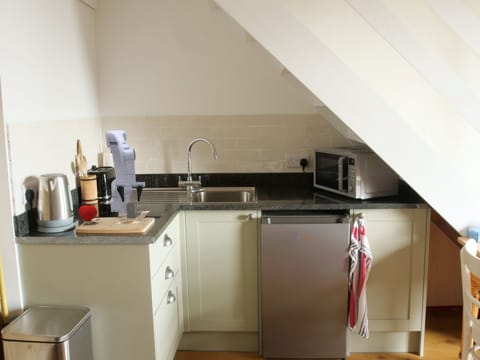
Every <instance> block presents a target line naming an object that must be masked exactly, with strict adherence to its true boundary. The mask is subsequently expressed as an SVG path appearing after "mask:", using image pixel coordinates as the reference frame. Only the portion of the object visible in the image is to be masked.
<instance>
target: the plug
mask: <svg viewBox="0 0 480 360" xmlns="http://www.w3.org/2000/svg"><path fill="white" fill-rule="evenodd" d="M126 209H127V211H126V212H127V218H136V217H137V216H138V213H137V211H138V208H137V202H131V201H130V203H127V204H126Z"/></svg>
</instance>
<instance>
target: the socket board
mask: <svg viewBox="0 0 480 360" xmlns="http://www.w3.org/2000/svg"><path fill="white" fill-rule="evenodd" d="M149 213H150V210H137V214H139V215H137V217H136V218H127V211H126V212H124V214H122V215H121V216H120V217H119V218H118V219H117V220H116V221H114V222H113V223H112V225H126V224H127V225H128V224H130V225H131V224H139V223H140V222H141V221H142V220H143V219H144V218H145V217H146V216H147V215H148V214H149ZM125 220H126V221H125Z"/></svg>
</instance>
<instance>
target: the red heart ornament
mask: <svg viewBox="0 0 480 360" xmlns="http://www.w3.org/2000/svg"><path fill="white" fill-rule="evenodd" d="M78 215H79V217H80V218H81V219H82V220H83V221H84V222H85V224H86V225H91V224H93V222H92V221H93V220H94V219H95V218H96V217H97V215H98V210H97V207H96V206H95V205H87V204H84V205H81V206H80V207H79V209H78Z"/></svg>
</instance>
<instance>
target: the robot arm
mask: <svg viewBox="0 0 480 360" xmlns="http://www.w3.org/2000/svg"><path fill="white" fill-rule="evenodd" d="M105 143H106V146H107V148H109V149H110V151H111V155H112V162H113V168H114V175H115V179H114V180H112V182H111V183H110V185H111V188H110V190H111V195H112V197H111V198H110V210H111V213H122V212H124V213H126V212H127V209H126V204H127V203H131V201H130V197H131V195H132V194H133V187H134V188H135V187H136V194H137V202H139V203H140V201H141V195H142V192H143V190H144V187H146V182H145V181H143V182H142V181H141V182H140V181H136V177H137V176H136V166H135V161H136V158H137V155H136V154H137V153H136V151H135V148H132V147H131V146H130V144H129V143H128V142H127V132H126V130H125V129H121V130H120V129H119V130H118V129H117V130H116V129H115V130H106V131H105Z"/></svg>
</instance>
